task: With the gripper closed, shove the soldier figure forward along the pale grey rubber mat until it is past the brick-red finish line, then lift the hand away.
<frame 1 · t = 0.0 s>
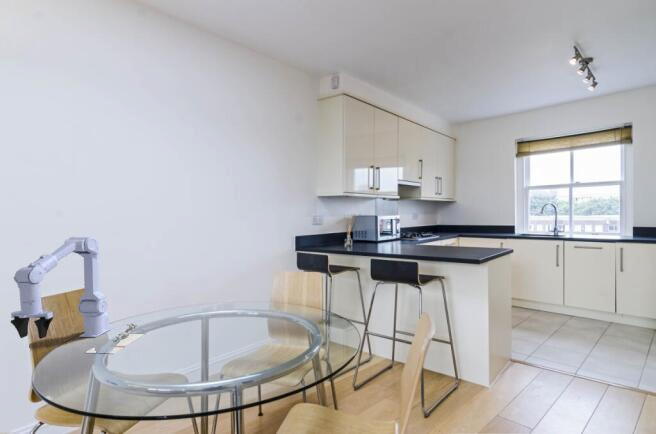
hand: (33, 337, 126), 10 cm above the table, tool pointing down, fingers open, 7 cm apart
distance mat: (117, 342, 145), on the table
soldier figure: (125, 337, 150), resting on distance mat
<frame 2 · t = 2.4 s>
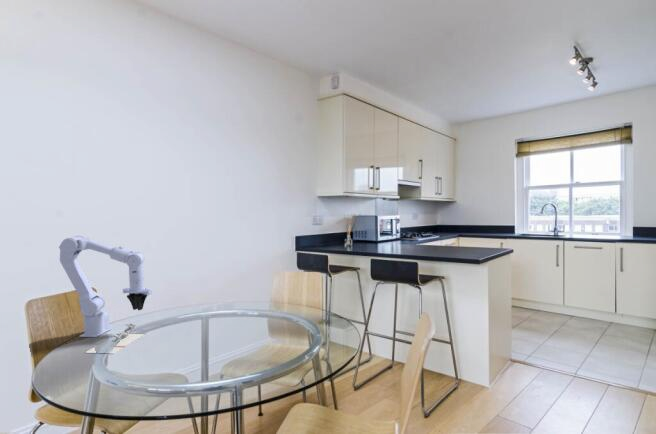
hand: (138, 309, 158), 9 cm above the table, tool pointing down, fingers closed
nothing on the table moved.
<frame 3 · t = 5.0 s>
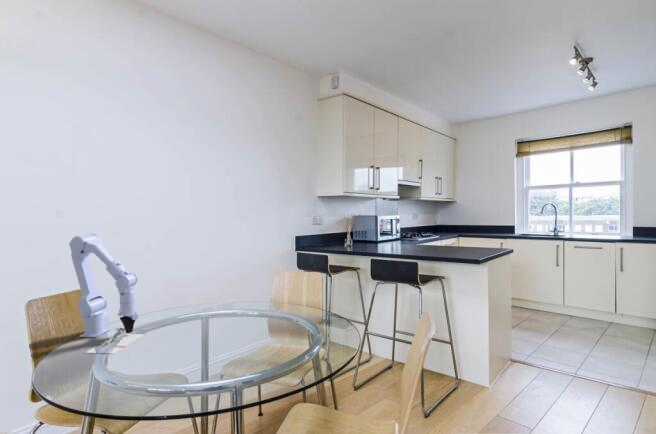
hand: (129, 332, 152), 1 cm above the table, tool pointing down, fingers closed
soldier figure: (113, 342, 145), resting on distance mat, touching gripper
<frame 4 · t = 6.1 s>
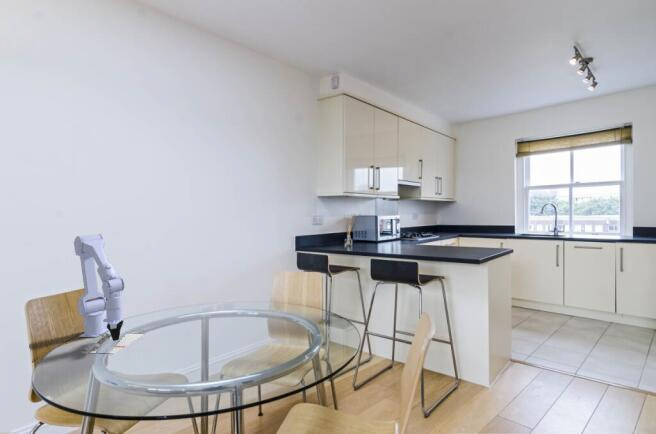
hand: (116, 340, 144), 1 cm above the table, tool pointing down, fingers closed
soldier figure: (97, 348, 139), resting on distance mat, touching gripper
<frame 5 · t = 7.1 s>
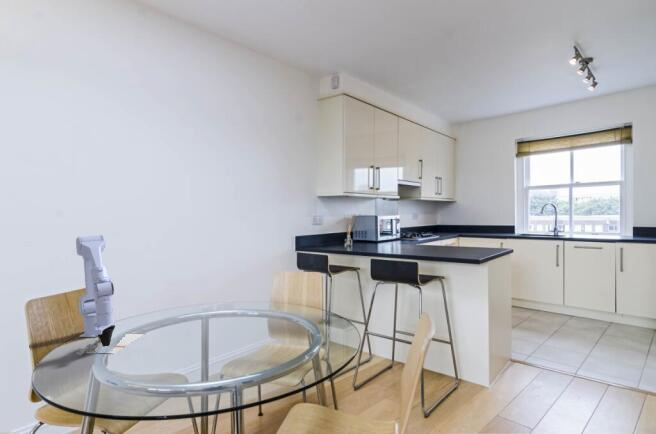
hand: (106, 345, 139), 1 cm above the table, tool pointing down, fingers closed
soldier figure: (93, 350, 138), on the table, touching gripper
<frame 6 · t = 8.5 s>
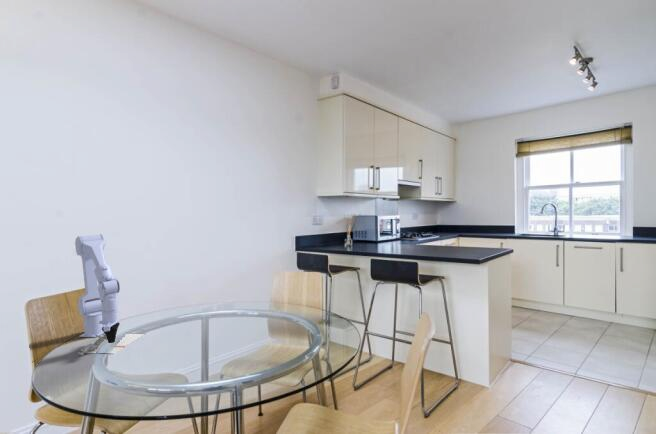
hand: (111, 342, 142), 1 cm above the table, tool pointing down, fingers closed
soldier figure: (94, 349, 138), on the table, touching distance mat
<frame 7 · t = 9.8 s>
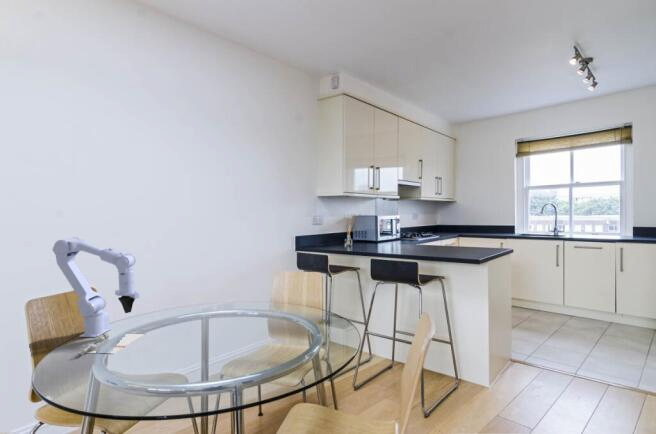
hand: (127, 312, 154), 9 cm above the table, tool pointing down, fingers closed
nothing on the table moved.
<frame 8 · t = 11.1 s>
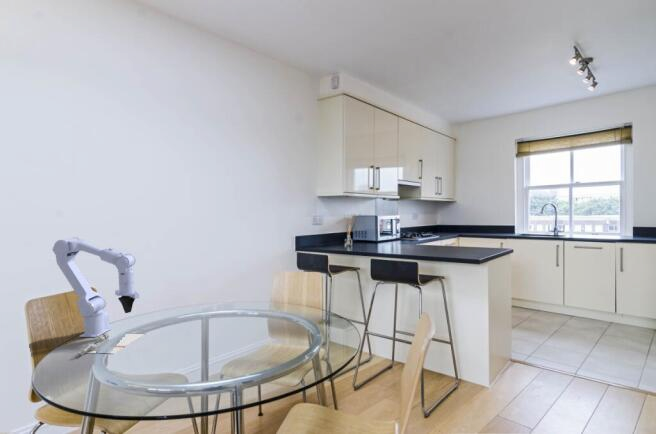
hand: (127, 312, 154), 9 cm above the table, tool pointing down, fingers closed
nothing on the table moved.
at the end: soldier figure inside the target area (8.6 cm from its centre), on the table; soldier figure moved 12.9 cm from its start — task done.
